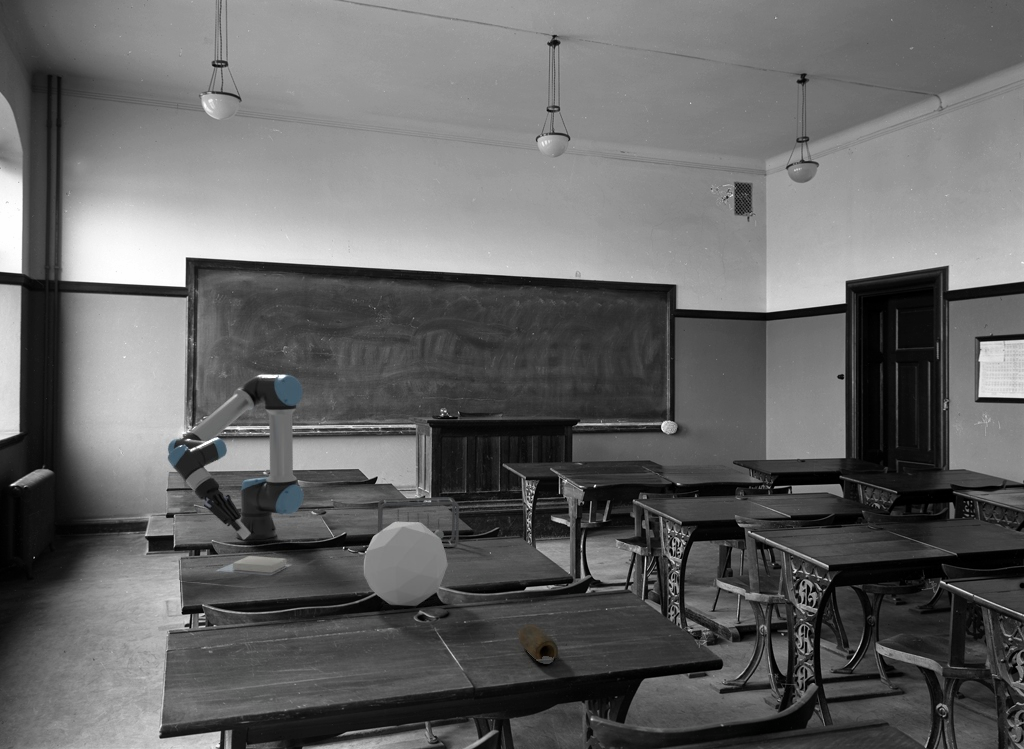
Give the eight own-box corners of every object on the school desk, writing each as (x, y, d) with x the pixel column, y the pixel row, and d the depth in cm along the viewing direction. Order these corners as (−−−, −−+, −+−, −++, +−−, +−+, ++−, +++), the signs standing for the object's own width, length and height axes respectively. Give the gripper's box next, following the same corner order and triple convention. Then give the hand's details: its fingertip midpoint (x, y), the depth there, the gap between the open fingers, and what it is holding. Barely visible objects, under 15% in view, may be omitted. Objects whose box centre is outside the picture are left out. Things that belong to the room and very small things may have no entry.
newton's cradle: (454, 541, 314) (455, 497, 314) (458, 548, 304) (459, 501, 304) (377, 544, 308) (378, 498, 307) (379, 550, 298) (379, 503, 297)
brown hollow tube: (563, 666, 187) (563, 638, 187) (535, 669, 185) (536, 641, 185) (539, 644, 201) (539, 618, 201) (513, 647, 199) (513, 621, 199)
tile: (232, 562, 264) (271, 565, 261) (249, 555, 274) (286, 558, 271) (232, 570, 264) (271, 573, 261) (249, 563, 274) (286, 566, 271)
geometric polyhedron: (398, 624, 240) (410, 547, 255) (459, 610, 226) (468, 529, 241) (338, 599, 226) (354, 518, 241) (399, 582, 212) (412, 498, 227)
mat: (215, 571, 264) (215, 570, 264) (238, 561, 277) (238, 560, 277) (270, 576, 259) (270, 575, 259) (291, 566, 273) (291, 564, 273)
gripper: (207, 488, 279) (249, 539, 276) (184, 494, 266) (229, 548, 263) (221, 474, 278) (264, 525, 274) (199, 479, 265) (244, 533, 262)
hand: (247, 536), depth 269 cm, fingers closed
